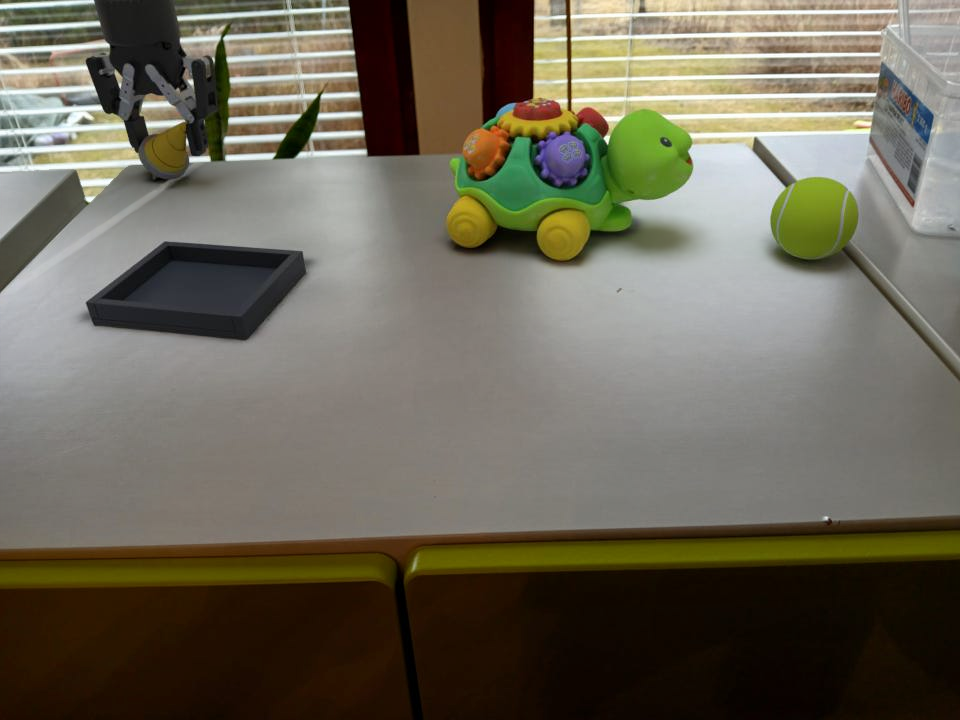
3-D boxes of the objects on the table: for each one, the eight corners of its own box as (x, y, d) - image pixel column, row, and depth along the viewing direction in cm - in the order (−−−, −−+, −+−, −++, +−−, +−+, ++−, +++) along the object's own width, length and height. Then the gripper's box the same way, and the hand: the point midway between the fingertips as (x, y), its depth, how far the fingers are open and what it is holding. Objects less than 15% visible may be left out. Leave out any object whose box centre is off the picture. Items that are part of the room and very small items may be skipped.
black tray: (92, 324, 64) (84, 302, 63) (170, 261, 73) (164, 240, 72) (246, 339, 61) (241, 316, 60) (306, 272, 71) (302, 250, 70)
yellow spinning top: (182, 167, 95) (214, 117, 88) (171, 200, 92) (203, 151, 85) (137, 145, 92) (167, 91, 85) (124, 178, 89) (153, 126, 82)
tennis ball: (853, 247, 71) (871, 171, 67) (842, 279, 66) (861, 200, 62) (773, 233, 74) (786, 160, 70) (756, 264, 69) (769, 187, 65)
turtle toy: (670, 281, 67) (685, 144, 60) (418, 248, 74) (408, 122, 68) (696, 206, 80) (711, 87, 74) (480, 184, 87) (477, 74, 81)
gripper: (214, -15, 82) (245, 145, 91) (92, -16, 85) (133, 139, 94) (176, -2, 76) (212, 167, 85) (45, -4, 78) (94, 160, 88)
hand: (171, 152), depth 89 cm, fingers closed on yellow spinning top, 6 cm apart
